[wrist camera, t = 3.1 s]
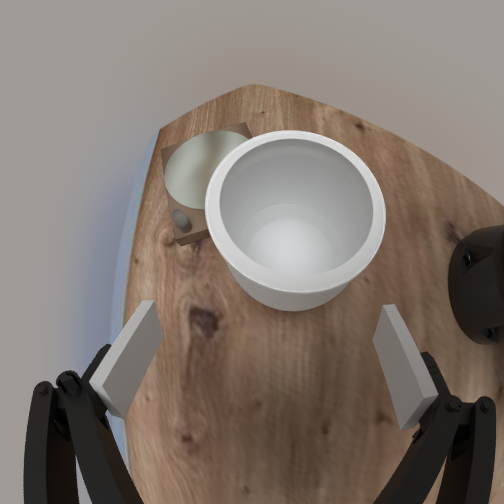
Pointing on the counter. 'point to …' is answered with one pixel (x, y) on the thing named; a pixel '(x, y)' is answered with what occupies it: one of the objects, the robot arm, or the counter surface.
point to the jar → (294, 217)
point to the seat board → (196, 177)
